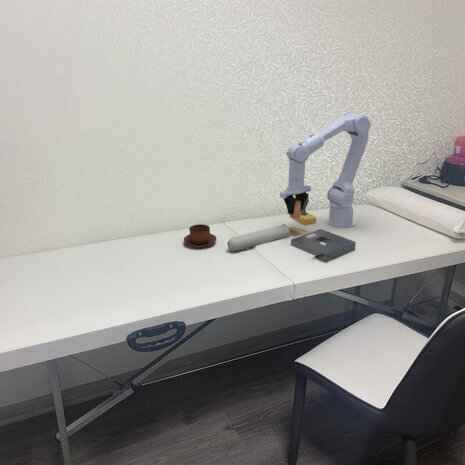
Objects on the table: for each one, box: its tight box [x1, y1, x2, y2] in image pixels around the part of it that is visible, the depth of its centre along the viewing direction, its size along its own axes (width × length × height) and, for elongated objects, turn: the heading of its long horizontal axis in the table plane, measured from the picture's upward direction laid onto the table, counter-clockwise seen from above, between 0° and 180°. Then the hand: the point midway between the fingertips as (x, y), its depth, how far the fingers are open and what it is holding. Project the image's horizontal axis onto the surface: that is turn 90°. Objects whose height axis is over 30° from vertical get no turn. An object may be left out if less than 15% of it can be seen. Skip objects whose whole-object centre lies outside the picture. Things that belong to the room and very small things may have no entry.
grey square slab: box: [290, 228, 357, 263], centre depth 154 cm, size 16×16×3 cm
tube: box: [226, 223, 291, 253], centre depth 158 cm, size 5×5×25 cm
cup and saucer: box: [183, 223, 217, 248], centre depth 159 cm, size 12×12×6 cm
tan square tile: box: [288, 225, 309, 238], centre depth 167 cm, size 8×8×1 cm
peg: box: [288, 200, 301, 219], centre depth 164 cm, size 4×4×6 cm
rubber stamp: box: [291, 197, 317, 226], centre depth 177 cm, size 10×6×12 cm, turn 26°
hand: (294, 212), depth 164 cm, fingers closed on peg, 4 cm apart
